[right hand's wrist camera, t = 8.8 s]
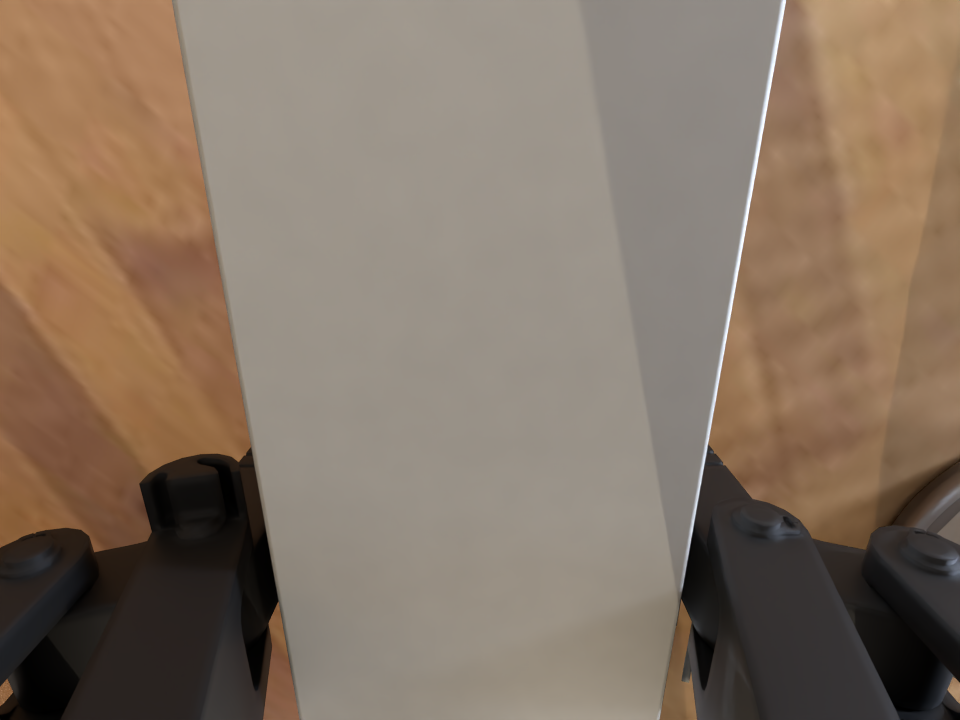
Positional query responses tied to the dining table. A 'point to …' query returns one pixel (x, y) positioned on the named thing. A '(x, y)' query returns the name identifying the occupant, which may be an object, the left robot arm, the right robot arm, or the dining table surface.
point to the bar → (479, 328)
